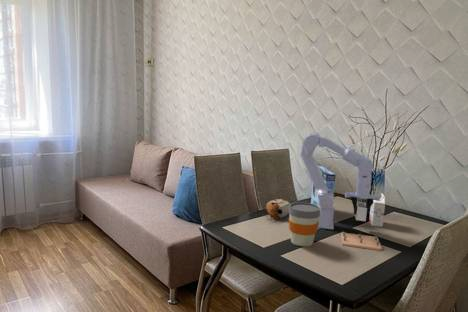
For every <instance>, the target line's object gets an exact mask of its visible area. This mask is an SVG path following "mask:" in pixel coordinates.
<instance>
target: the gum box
mask: <svg viewBox="0 0 468 312" xmlns="http://www.w3.org/2000/svg"><path fill="white" fill-rule="evenodd" d="M317 166H318V168H319V170H320V173H321V175H322V177H323V179H324V182H325V184H326V186H327V187H328V188H329V190H330V192H332V193H333V195H335V194H334V193H335V192H334V191H335V182H336V175H337V174H336V173H334V172H333V171H330V170H329V169H327V168H326V167H324V166H321V165H317ZM310 203H311V204H314V205H317V206H318V205H319V198H318V196H317V190H316V188H315V186H314V183H313V182H312V186H311V199H310Z"/></svg>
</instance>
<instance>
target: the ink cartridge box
mask: <svg viewBox="0 0 468 312" xmlns="http://www.w3.org/2000/svg"><path fill="white" fill-rule="evenodd" d="M380 194H381V196H380V201H377V200H373V201H374V202H373V204H372V206H371V207H370V209H369V210H370V211H369V218H368V219H369V222H370V224H371V226H372V227H383V225H384V217H385V209H386V196H385V195H384V193H382V192H381V193H380Z"/></svg>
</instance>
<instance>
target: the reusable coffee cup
mask: <svg viewBox="0 0 468 312" xmlns="http://www.w3.org/2000/svg"><path fill="white" fill-rule="evenodd" d="M288 215H289V217H288V228H289V231H290V242H291V243H292V244H293V245H295V246H298V247H299V246H300V247H310V246H313V244H314V240H315V236H316V233H318V232H317V231H318V229H319V228H318V223H319V221H318V218H319V216H320V208H319V207H318V206H317V205H314V204H311V202H300V201H299V202H293V203H290V207H289V214H288Z"/></svg>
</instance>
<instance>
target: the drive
mask: <svg viewBox="0 0 468 312" xmlns="http://www.w3.org/2000/svg"><path fill="white" fill-rule="evenodd" d="M366 214H367V215H368V213H367V207H366V202H358V201H357V206H356V214H354V217H355V218H354V219H355V220H356V221H361V222H367V216H366Z"/></svg>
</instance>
